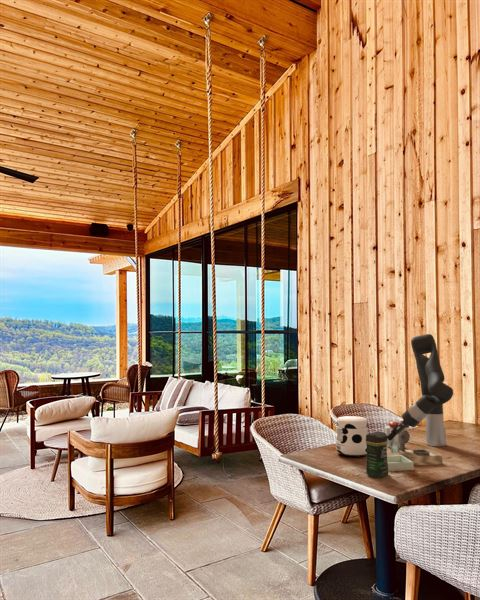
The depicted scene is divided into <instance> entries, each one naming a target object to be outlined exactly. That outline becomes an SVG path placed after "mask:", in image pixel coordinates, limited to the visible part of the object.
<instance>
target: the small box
mask: <svg viewBox="0 0 480 600" xmlns="http://www.w3.org/2000/svg"><path fill="white" fill-rule="evenodd" d="M384 433H385V434H386V435H387V436H388V435H389V434H390V426H389V425H385V426H384ZM388 448H389V449H391V443H390V441H389V440H388V439H387V449H388ZM399 449H400V443H399Z"/></svg>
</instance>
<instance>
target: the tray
mask: <svg viewBox="0 0 480 600" xmlns="http://www.w3.org/2000/svg"><path fill="white" fill-rule="evenodd" d="M387 462H388V472H391V471H392V472H395V471H412V470H413V471H414V466H415V465H413V462H412V461H411V460H409V459H407V458H406V457H404V456H402V455H399V454H395V455H393V454H392V455H387Z"/></svg>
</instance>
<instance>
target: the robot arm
mask: <svg viewBox="0 0 480 600" xmlns="http://www.w3.org/2000/svg"><path fill="white" fill-rule="evenodd" d="M410 344H411V349H412V352H413V355H414V359H415V363H416V364H415V365H416V369H417V374H418V377H419V382H420V392H421V397H420V398H419V399H418V400H416V402H414V403H413V404H411V406H409V408H408V409H407V410H405V411H404V412H403V413H402V414H401V417H402V420H401V421H398V422H399V424H398V425H396V427H395V428H394V429H393V430H392V431H391V433H390V434H389V435H388V436H387V439H388V440H389V441H390V440H392V439H393V438H394V437H395V436H397V434H398V435H399V434H401V433H402V432H404V431H405V430H406V431H407V429H409V428H410V427H411V428H415V427H416V426H418V425H419V424H420V423H421V422H422V421H423V420H425V438H426V439H425V440H426V441H425V442H426V445H428V446H431V447H444V446H445V447H446V446H447V434H446V433H447V431H446V427H445V424H444V423H445V422H444V404H446V403H448V402H449V401H450V400H451V399H452V397H454V390H453V388H452V387H451V386H449V385H447V384H446V383H444V382H445V374H444V371H443V368H442V366H441V362H440V358H439V357H440V356H439V352H438V347H437V343H436V340H435V338H434V336H433V334H429V333H427V334H422V335H416V336H414V337H411V340H410ZM426 354H430V355H429V357H428V356H426ZM394 431H395V432H396V433H395V432H394Z"/></svg>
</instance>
